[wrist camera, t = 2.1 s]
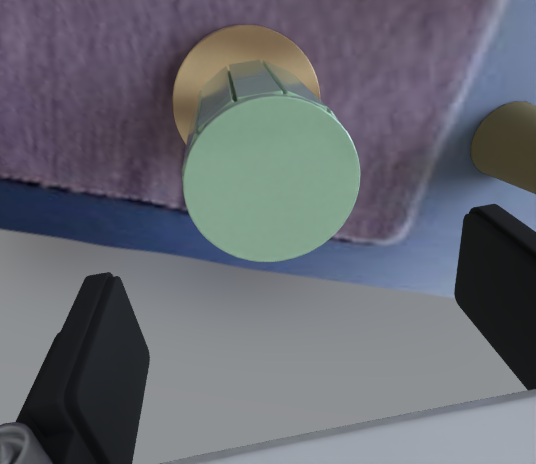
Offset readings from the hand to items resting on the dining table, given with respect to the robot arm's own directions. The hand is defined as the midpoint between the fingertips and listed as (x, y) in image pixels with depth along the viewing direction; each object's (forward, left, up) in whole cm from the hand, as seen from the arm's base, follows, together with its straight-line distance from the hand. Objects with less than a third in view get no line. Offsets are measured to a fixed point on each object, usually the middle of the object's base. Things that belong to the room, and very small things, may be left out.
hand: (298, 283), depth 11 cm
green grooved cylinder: (0, 0, -15) cm, 15 cm away
